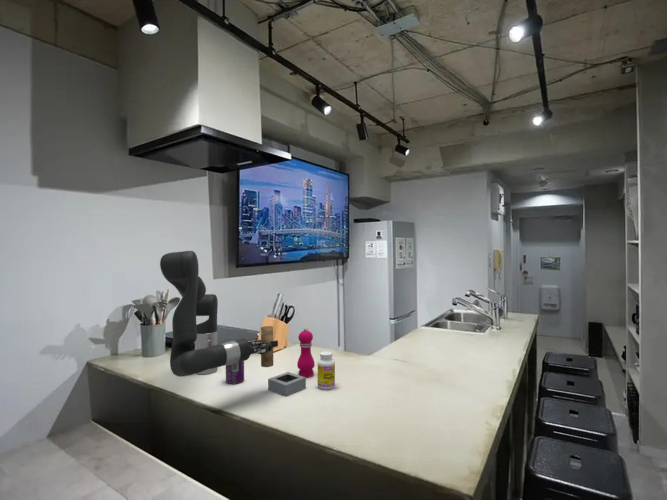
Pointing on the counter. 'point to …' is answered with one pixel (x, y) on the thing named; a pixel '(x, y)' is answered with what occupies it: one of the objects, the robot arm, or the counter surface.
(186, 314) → the robot arm
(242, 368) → the beverage can
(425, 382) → the counter surface
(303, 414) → the counter surface
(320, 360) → the supplement bottle
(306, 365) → the pepper mill
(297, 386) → the socket
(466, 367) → the counter surface
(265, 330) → the peg
